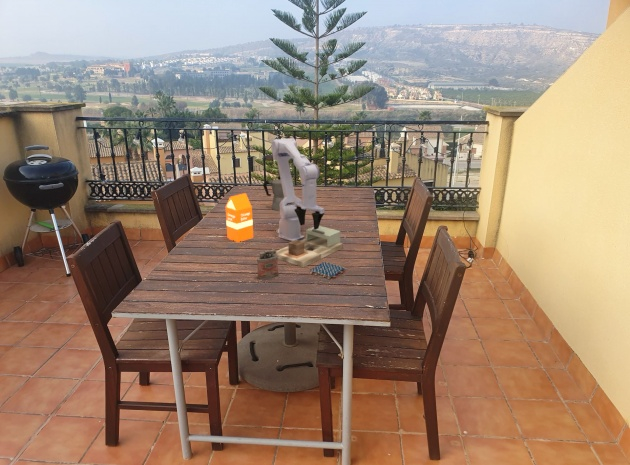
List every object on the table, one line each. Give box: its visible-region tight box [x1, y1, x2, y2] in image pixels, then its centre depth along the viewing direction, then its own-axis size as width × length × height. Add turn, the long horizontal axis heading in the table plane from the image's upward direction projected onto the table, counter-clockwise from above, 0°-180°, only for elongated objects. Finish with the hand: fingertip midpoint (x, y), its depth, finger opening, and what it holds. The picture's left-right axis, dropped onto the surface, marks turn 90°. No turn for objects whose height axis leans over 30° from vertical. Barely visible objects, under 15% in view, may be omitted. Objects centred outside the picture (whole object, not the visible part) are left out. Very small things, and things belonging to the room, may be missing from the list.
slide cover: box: [305, 225, 341, 247], centre depth 196 cm, size 12×8×6 cm, turn 51°
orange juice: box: [225, 192, 254, 243], centre depth 204 cm, size 8×9×20 cm
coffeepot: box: [262, 175, 289, 212], centre depth 247 cm, size 15×9×18 cm, turn 103°
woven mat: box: [309, 261, 347, 281], centre depth 172 cm, size 10×11×2 cm
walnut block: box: [288, 239, 304, 256], centre depth 184 cm, size 4×4×4 cm
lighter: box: [256, 248, 280, 280], centre depth 168 cm, size 8×3×10 cm, turn 117°
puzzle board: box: [273, 237, 344, 268], centre depth 190 cm, size 16×26×2 cm, turn 141°
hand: (309, 226), depth 190 cm, fingers open, 7 cm apart
